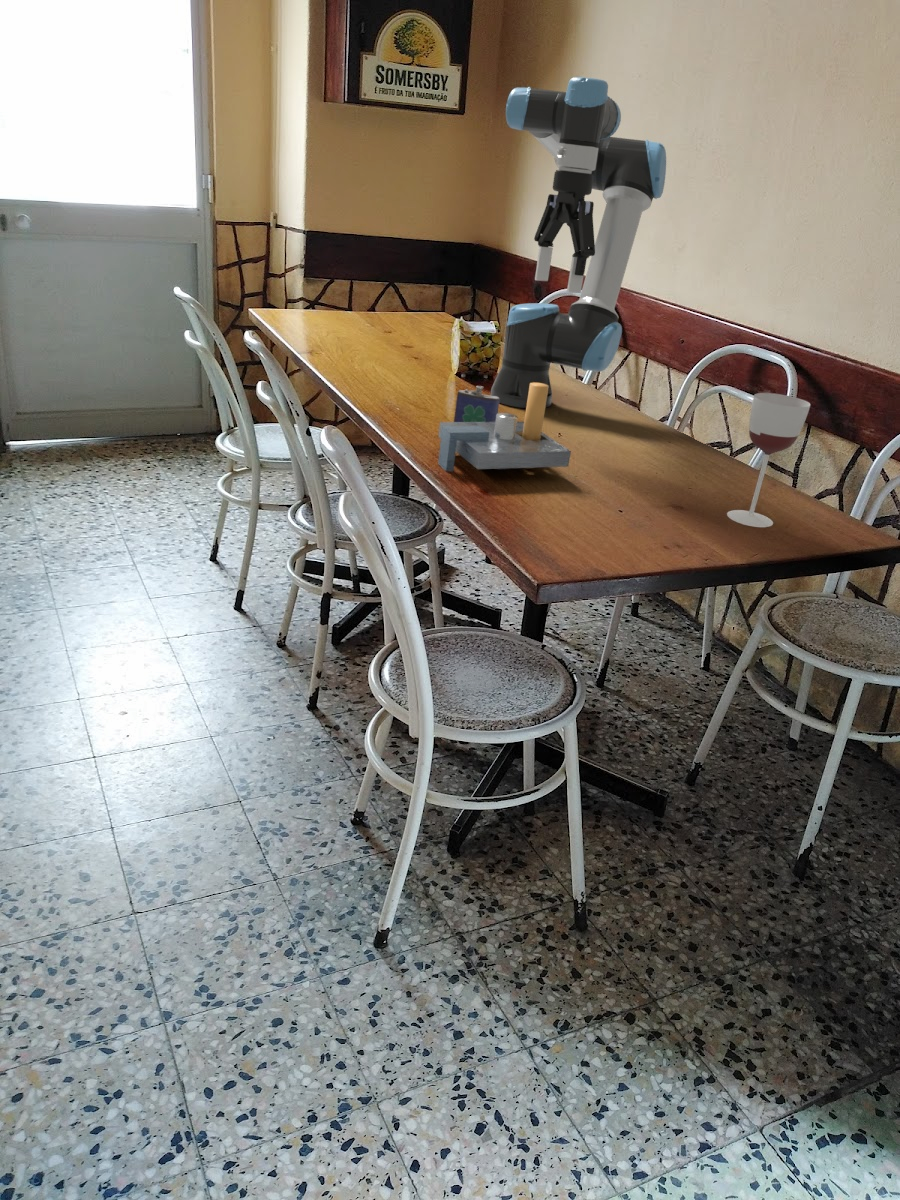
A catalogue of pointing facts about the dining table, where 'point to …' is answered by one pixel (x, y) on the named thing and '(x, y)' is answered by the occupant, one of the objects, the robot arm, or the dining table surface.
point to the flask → (476, 406)
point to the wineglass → (771, 440)
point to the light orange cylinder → (535, 411)
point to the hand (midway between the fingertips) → (557, 286)
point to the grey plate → (498, 445)
